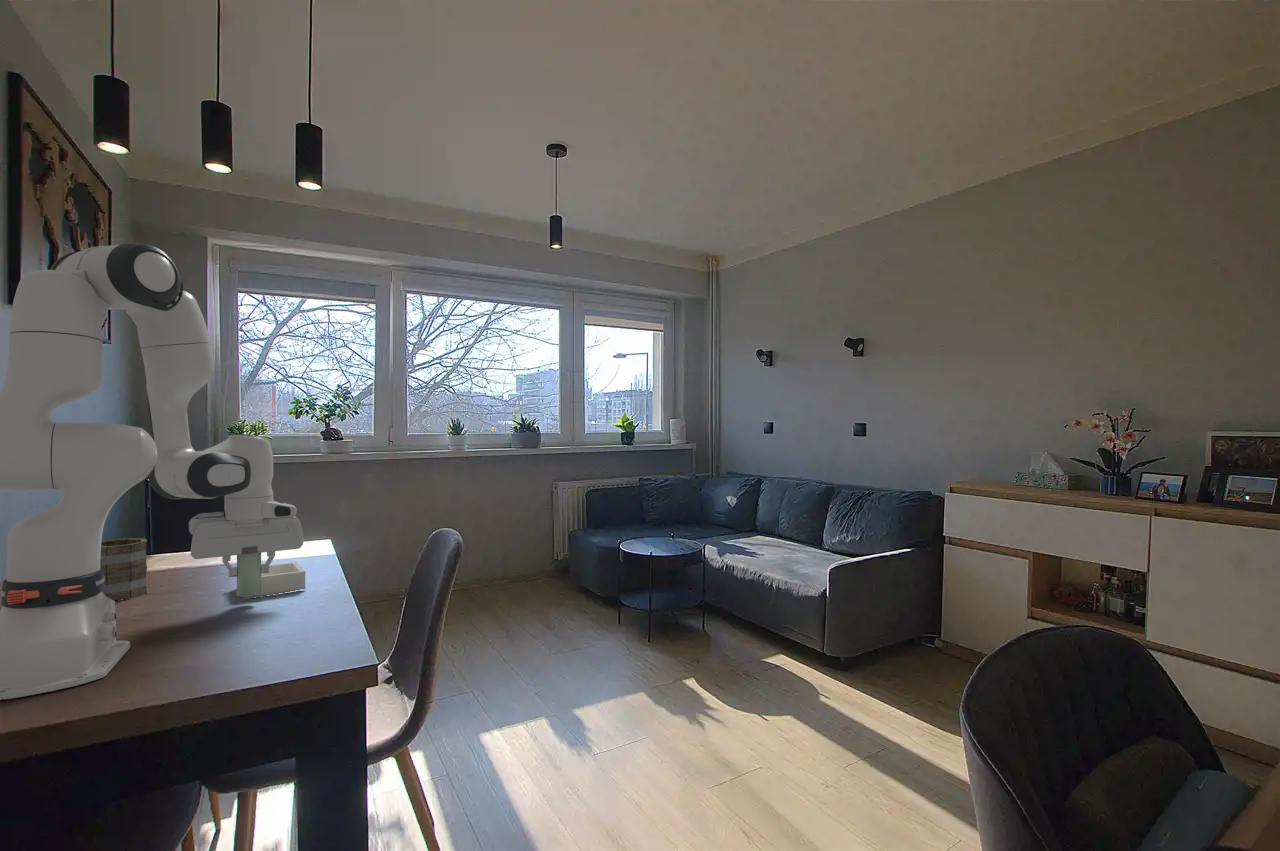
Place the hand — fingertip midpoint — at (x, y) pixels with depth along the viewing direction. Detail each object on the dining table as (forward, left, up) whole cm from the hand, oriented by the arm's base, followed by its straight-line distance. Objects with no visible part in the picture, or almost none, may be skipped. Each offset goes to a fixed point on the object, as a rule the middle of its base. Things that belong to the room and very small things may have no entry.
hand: (249, 574), depth 129 cm
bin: (+11, -6, -7) cm, 14 cm away
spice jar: (0, 0, -4) cm, 4 cm away
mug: (+28, +23, -7) cm, 37 cm away
